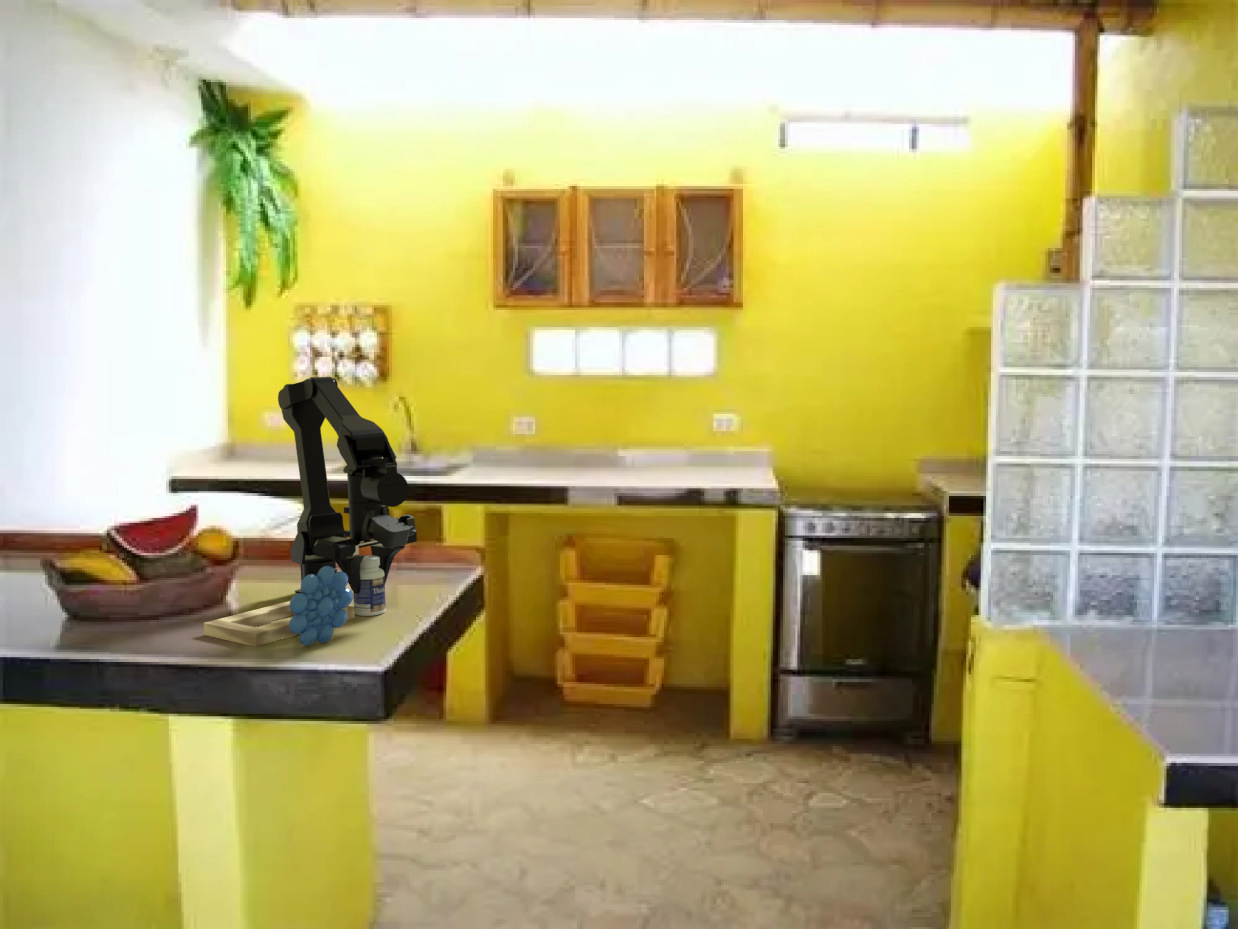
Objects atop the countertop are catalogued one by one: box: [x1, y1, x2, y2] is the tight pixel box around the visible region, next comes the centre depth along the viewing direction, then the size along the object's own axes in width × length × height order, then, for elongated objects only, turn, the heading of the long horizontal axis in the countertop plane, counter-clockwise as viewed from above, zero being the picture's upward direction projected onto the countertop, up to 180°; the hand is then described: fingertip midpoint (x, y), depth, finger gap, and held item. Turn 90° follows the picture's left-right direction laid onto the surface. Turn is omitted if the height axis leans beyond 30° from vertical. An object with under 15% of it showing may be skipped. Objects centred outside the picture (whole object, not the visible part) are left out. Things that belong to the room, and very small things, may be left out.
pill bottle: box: [352, 555, 387, 617], centre depth 183 cm, size 5×5×10 cm
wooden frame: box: [203, 600, 356, 647], centre depth 176 cm, size 20×13×2 cm, turn 146°
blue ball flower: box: [289, 566, 354, 647], centre depth 165 cm, size 12×7×12 cm, turn 142°
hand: (369, 590), depth 184 cm, fingers closed on pill bottle, 5 cm apart
